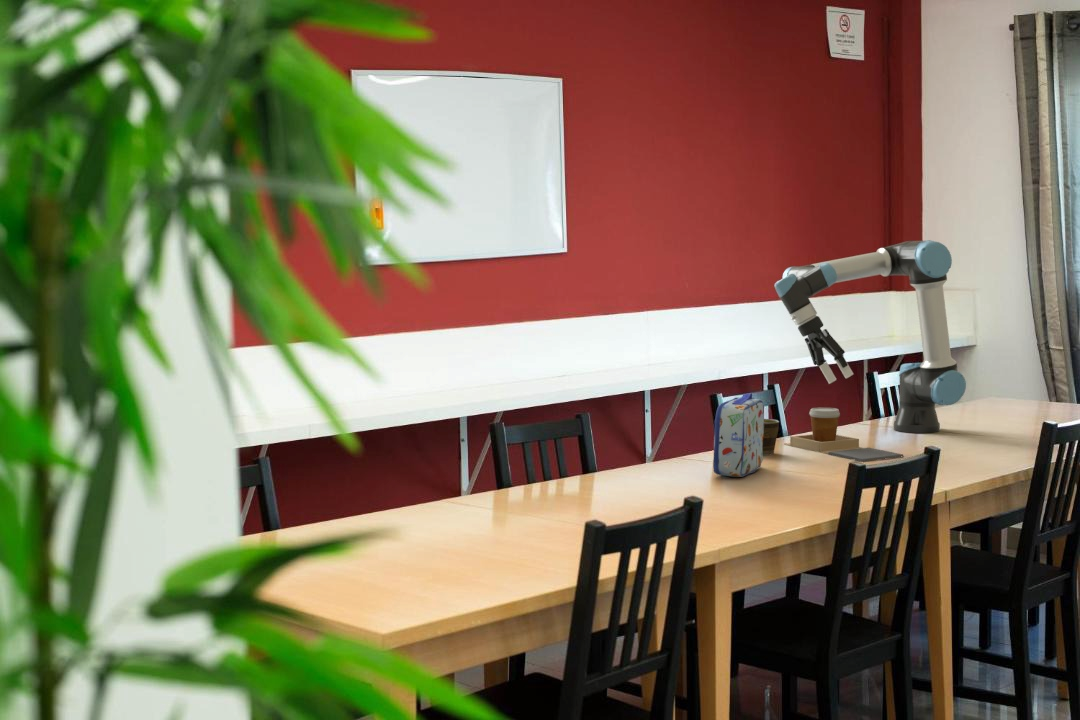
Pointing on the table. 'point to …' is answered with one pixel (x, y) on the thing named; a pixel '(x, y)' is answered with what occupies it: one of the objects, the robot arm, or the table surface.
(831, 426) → the disposable coffee cup
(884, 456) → the charcoal mat
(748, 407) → the lunch box
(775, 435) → the ceramic cup
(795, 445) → the tan shallow tray
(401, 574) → the table surface
